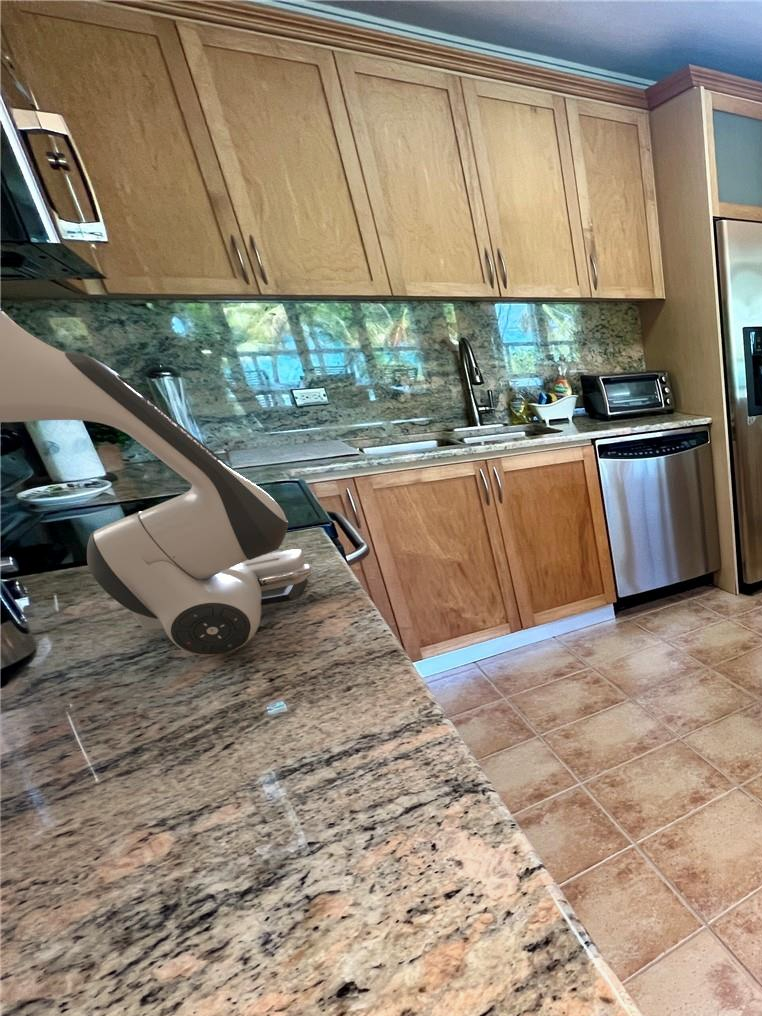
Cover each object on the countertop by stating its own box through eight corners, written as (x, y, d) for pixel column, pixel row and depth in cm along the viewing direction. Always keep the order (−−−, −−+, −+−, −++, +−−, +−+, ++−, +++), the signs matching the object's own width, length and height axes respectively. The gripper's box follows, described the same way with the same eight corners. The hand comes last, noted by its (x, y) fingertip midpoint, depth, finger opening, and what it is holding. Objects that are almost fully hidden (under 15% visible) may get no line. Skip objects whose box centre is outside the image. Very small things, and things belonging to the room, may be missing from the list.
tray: (161, 633, 92) (154, 617, 91) (191, 601, 103) (184, 586, 102) (293, 609, 98) (287, 594, 97) (308, 581, 109) (303, 567, 108)
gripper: (304, 552, 91) (300, 531, 101) (105, 590, 80) (122, 562, 90) (318, 593, 94) (313, 568, 104) (128, 634, 82) (142, 602, 92)
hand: (223, 565), depth 97 cm, fingers open, 8 cm apart
